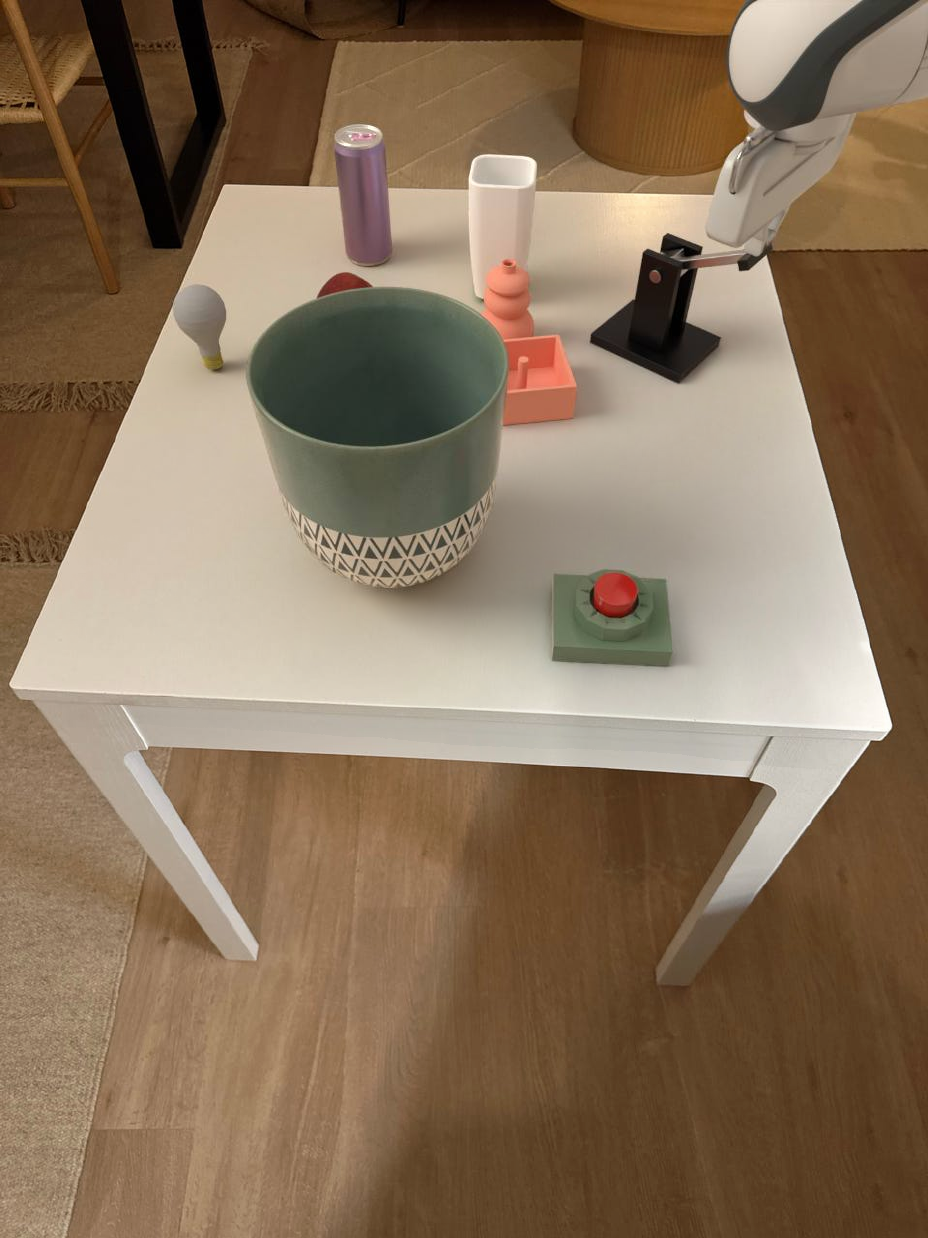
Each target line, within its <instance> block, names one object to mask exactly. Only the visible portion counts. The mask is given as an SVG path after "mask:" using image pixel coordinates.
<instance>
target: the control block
mask: <svg viewBox="0 0 928 1238" xmlns="http://www.w3.org/2000/svg"><path fill="white" fill-rule="evenodd" d="M611 572H617V573H622V574H625V575H627V576H629V577H630V578H631V579H633V580H634V582H635V583H636V585H637V588H638V593H637V598H636V602H635V606H634V608H633V610H632V611H631V612H630V613H629V614H627V615H625V616H623V617H608V616H606V615H603V614H602V613H600V612H599V611H598V610H597V609H596V608H595V606H594V604H593V593H594V587H595V583H596V581H597V579H598V578H599V577H601V576H602V575H604V574H606V573H611ZM551 584H552V585H551V662H569V663H570V662H571V663H572V662H573V663H591V664H611V665H613V664H614V665H629V666H630V665H631V666H632V665H633V666H647V667H648V666H651V667H669V666H670V663H671V660H672V657H673V654H674V653H673V652H674V648H673V637H672V626H671V618H670V617H671V616H670V605H669V597H668V587H667V579H666V578H653V577H639V576H636V575H635V574H633V573H630V572H628V571H626V570H623V569H607V568H606V569H605V568H603V569H599V570H597V571H595V572H593V573H590V574H568V573H567V574H565V573H564V574H563V573H553V576H552V583H551Z"/></svg>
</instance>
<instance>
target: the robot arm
mask: <svg viewBox="0 0 928 1238" xmlns="http://www.w3.org/2000/svg"><path fill="white" fill-rule="evenodd" d="M737 13H738V14H737V15H736V17H735V20H734V22H733V25H732V27H731V30H730V34H729V37H728V41H727V47H726V57H725V58H726V59H725V60H726V61H725V63H726V64H725V65H726V74H727V79H728V82H729V83H728V84H729V85H730V88H731V90H732V93H733V95H734V97H735V98H736V100H737V101H738V103H739V104H740V105H741V107H742V109H744V110H743V116H744V119H745V121H746V123H747V124H748V125H749V126H750V127H751V128H752V129H753V130H752V131H751V132H750V133H748V134H747V135H746V136H745V138H744V140H743V141H742V142H741V143H739V144H738V145H736V146H735V147H734V148H733V149H732V150H731V151H730V153H729V154H728V156H727V157H726V158H725V161H724V163H723V165H722V168H721V170H720V173H719V176H718V179H717V182H716V185H715V189H714V192H713V194H712V198H711V202H710V206H709V209H708V213H707V217H706V220H705V233H706V236H707V237H708V238H709V239H710V240H712V241H715V242H717V243H719V244H722V245H725V246H728V247H730V248H734V249H739V248H741V247H742V246H743V250H744V251H745V252H746V253H748V254H751V255H753V256H759V255H760V254H761V253H762V252H763V251H764V250H766V249H767V248H768V247H769V246H770V245H772V246H773V244H774V243H775V240H776V237H777V233H778V230H779V229H780V226H781V225H782V223H783V221H784V219H785V217H786V215H787V214H788V212H789V210H790V208H791V205H792V203H793V202H795V201H796V200H797V199H798V198H800V197H801V196H802V195H803V194H804V193H805V192H806V191H808V190H809V189H811V188H812V186H813V185H814V184H816V183H817V182H819V180H821V179H822V178H823V177H824V176H825V175H827V174H829V172H831V170H832V169H833V168H834V166H835V164H836V162H837V161H838V159H839V157H840V155H841V153H842V151H843V149H844V146H845V143H846V141H847V139H848V136H849V134H850V131H851V129H852V126H853V123H854V121H855V119H856V116H857V114H858V113H862V112H866V111H867V112H868V111H873V110H878V109H883V108H886V107H892V106H899V105H902V104H908V103H912V102H917V101H921V100H924V99H928V0H744V2H743V4H742V6H741V8H740V10H739V11H738V12H737Z"/></svg>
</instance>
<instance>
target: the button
mask: <svg viewBox="0 0 928 1238" xmlns="http://www.w3.org/2000/svg"><path fill="white" fill-rule="evenodd" d="M637 593H638V588H637V585H636V583H635V582H634V580H633V579H631V578H630V577H629V576H627V575H625V574H622V573H617V572H611V573H606V574H604V575H602V576H601V577H599V578H598V579H597V581H596V583H595V587H594V593H593V604H594V606H595V608H596V609H597V610H598V611H599V612H600V613H602V614H603V615H606V616H608V617H623V616H625V615H627V614H629V613H630V612H631V611H632V610H633V608H634V606H635V602H636V598H637Z"/></svg>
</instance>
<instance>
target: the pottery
mask: <svg viewBox="0 0 928 1238" xmlns="http://www.w3.org/2000/svg"><path fill="white" fill-rule="evenodd" d="M486 284H487V286H488V288H487V289H486V291H485V294H484V300H483V304H484V306H485V308H484V310H483V311H482V313H480V314H481V315H482V316H484V317H485V318H486V319H487V320H488V321H489V322H490V323H491V324H492V325H493V326H494V327H495V328H496V330H497V331H498V332H499V334H500V335H501V337H502V339H503V341H504V343H505V346H506V348H507V352H508V357H509V375H508V386H507V397H506V405H505V412H504V420H503V426H509V425H519V424H528V423H530V424H531V423H539V422H550V421H560V420H571V419H574V414H575V409H576V399H577V392H578V391H577V390H578V385H577V382H576V379H575V376H574V373H573V371H572V368H571V365H570V362H569V359H568V356H567V353H566V351H565V347H564V345H563V343H562V339H561V337H560V334H551V335H550V334H549V335H540V336H539V335H538V336H534V334H535V322H534V319H533V316H532V314H531V313H530V311H529V309H528V308H529V306H530V304H531V293H530V290H529V289H528V287H529V286H530V284H531V279H530V275H529V273H528V271H527V272H526V271H525V270H524V269H522V268H521V267H519V266H516V261H515V260H513V259H504V260H502V261H501V265H499V266H497V267H495V268H493V269H492V270H490V271H489V272H488V274H487V277H486Z"/></svg>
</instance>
